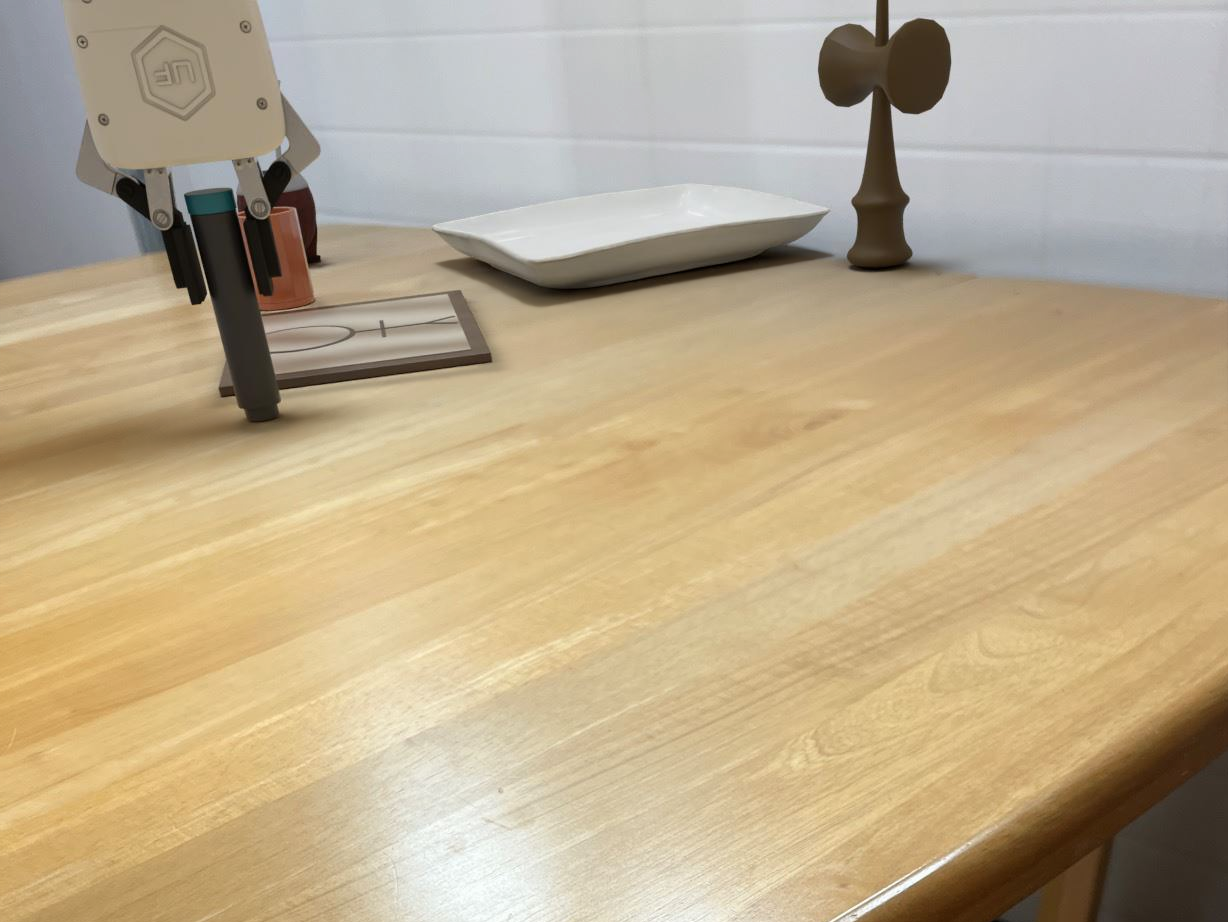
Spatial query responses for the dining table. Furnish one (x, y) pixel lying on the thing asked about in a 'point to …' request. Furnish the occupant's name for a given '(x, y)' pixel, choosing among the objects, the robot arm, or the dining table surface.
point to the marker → (234, 301)
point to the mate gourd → (304, 203)
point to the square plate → (631, 233)
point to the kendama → (884, 115)
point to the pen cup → (285, 262)
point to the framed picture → (370, 339)
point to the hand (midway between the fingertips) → (232, 293)
